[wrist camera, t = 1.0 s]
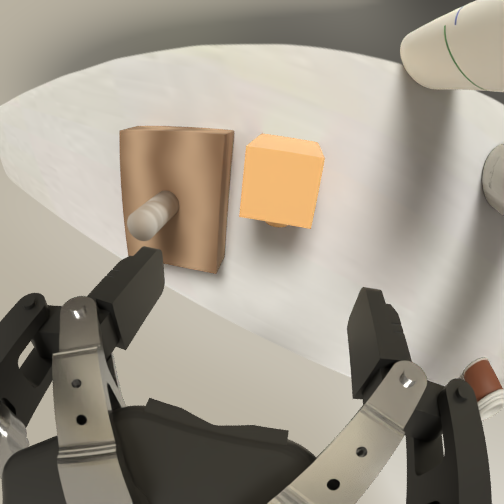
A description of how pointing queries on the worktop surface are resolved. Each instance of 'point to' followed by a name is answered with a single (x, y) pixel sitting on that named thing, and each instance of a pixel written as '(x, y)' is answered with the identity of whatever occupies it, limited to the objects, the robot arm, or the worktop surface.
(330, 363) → the worktop surface
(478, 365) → the coffee cup
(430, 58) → the cylindrical container
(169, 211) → the brown slab
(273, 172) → the peach foam cube
